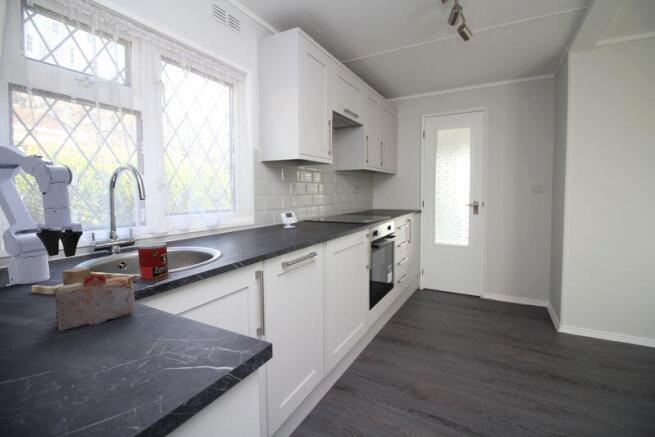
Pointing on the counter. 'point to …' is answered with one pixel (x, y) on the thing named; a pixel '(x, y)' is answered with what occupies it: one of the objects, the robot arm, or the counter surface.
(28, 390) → the counter surface
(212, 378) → the counter surface
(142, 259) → the canned food
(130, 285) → the food item
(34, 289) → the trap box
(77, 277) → the beige cube
